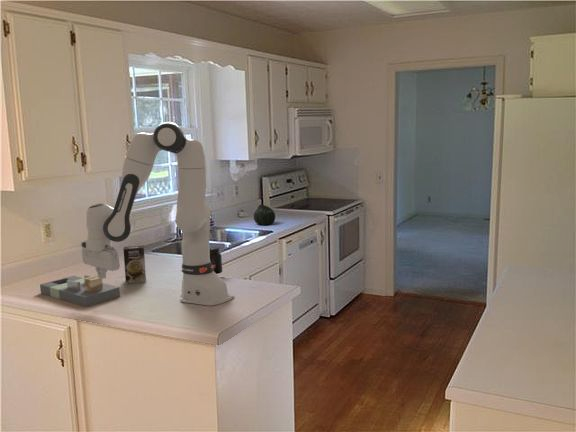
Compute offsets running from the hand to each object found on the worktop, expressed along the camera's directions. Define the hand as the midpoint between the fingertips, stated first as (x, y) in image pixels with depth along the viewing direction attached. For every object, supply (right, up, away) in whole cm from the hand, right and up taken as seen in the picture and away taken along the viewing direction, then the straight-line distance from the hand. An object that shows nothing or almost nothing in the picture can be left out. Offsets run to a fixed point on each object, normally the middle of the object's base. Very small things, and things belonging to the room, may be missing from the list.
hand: (102, 277), depth 216 cm
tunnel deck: (-14, -9, +13) cm, 21 cm away
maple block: (-5, -6, +6) cm, 9 cm away
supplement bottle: (+40, -2, +42) cm, 58 cm away
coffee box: (+5, -5, +31) cm, 32 cm away
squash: (+58, +19, +165) cm, 176 cm away
